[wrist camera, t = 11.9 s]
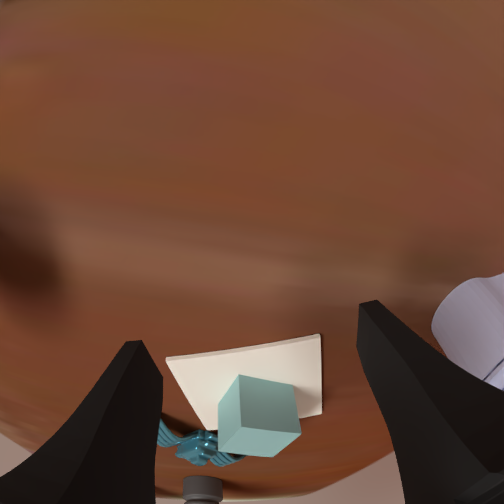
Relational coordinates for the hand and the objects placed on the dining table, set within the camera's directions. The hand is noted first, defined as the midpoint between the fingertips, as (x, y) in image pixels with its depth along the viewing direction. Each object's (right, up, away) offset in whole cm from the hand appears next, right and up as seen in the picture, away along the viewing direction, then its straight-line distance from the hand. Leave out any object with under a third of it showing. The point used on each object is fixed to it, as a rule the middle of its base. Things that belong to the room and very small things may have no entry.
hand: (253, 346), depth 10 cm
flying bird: (-6, -18, +21) cm, 29 cm away
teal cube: (0, -10, +16) cm, 19 cm away
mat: (0, -9, +16) cm, 19 cm away
